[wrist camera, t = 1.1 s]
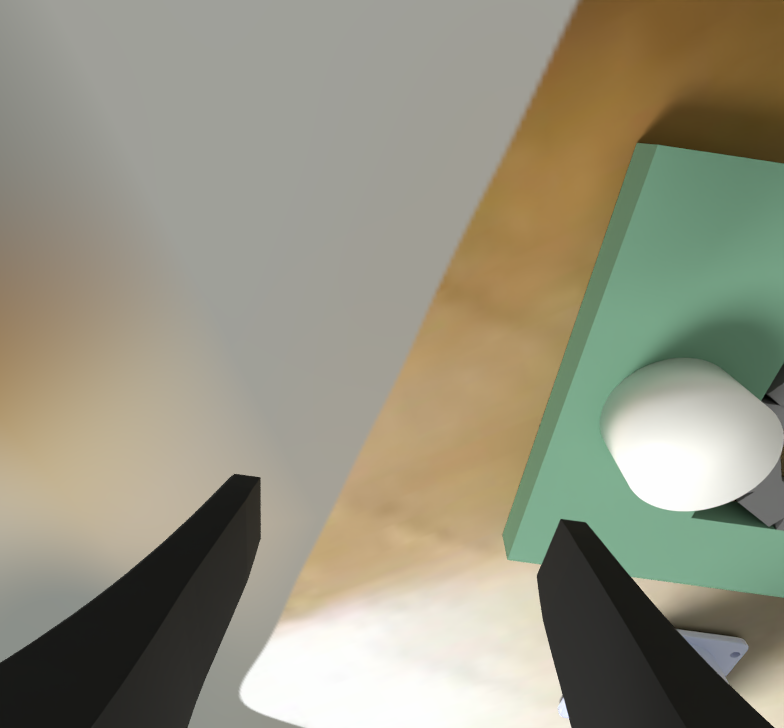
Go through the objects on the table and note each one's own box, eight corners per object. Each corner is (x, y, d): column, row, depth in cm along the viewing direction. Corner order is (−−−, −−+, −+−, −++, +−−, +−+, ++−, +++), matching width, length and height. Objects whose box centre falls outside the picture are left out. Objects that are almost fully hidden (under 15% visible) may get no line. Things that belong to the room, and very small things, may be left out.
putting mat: (851, 583, 24) (877, 610, 22) (502, 534, 23) (507, 559, 22) (1174, 223, 15) (1247, 233, 14) (636, 142, 15) (657, 144, 14)
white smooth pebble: (701, 473, 19) (738, 520, 17) (582, 456, 19) (603, 500, 17) (763, 368, 17) (815, 406, 15) (627, 348, 17) (658, 383, 14)
